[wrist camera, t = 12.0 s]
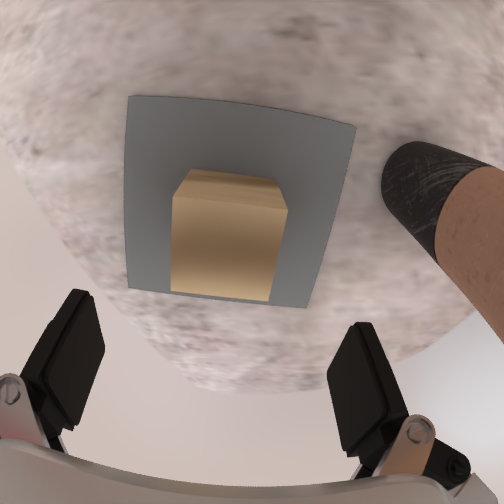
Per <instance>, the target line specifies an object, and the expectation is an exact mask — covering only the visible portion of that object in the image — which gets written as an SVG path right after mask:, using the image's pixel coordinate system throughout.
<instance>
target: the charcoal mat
mask: <svg viewBox="0 0 504 504" xmlns="http://www.w3.org/2000/svg"><path fill="white" fill-rule="evenodd" d="M356 128H357V127H355V126H352V125H348V124H345V123H341V122H337V121H333V120H328V119H324V118H320V117H315V116H311V115H306V114H301V113H296V112H291V111H286V110H280V109H275V108H269V107H262V106H256V105H249V104H242V103H234V102H226V101H216V100H206V99H194V98H180V97H159V96H129V97H128V108H127V120H126V134H125V155H124V229H125V250H126V265H127V277H128V288H132V289H139V290H146V291H153V292H160V293H167V294H174V295H182V296H190V297H198V298H206V299H215V300H223V301H233V302H242V303H252V304H262V305H273V306H284V307H296V308H307V306H308V303H309V300H310V297H311V294H312V290H313V287H314V284H315V281H316V278H317V275H318V272H319V268H320V265H321V262H322V259H323V255H324V252H325V249H326V245H327V242H328V238H329V235H330V231H331V228H332V224H333V221H334V217H335V213H336V210H337V206H338V202H339V199H340V195H341V191H342V187H343V183H344V179H345V175H346V171H347V167H348V163H349V159H350V155H351V150H352V146H353V142H354V137H355V133H356ZM191 169H196V170H206V171H215V172H224V173H233V174H241V175H248V176H256V177H263V178H270V179H276V181H277V183H278V186H279V188H280V191H281V193H282V196H283V198H284V201H285V203H286V206H287V209H288V213H287V218H286V223H285V227H284V232H283V237H282V241H281V246H280V251H279V255H278V260H277V264H276V269H275V273H274V278H273V282H272V287H271V291H270V295H269V300H268V301H259V300H249V299H239V298H229V297H220V296H211V295H202V294H194V293H185V292H177V291H171V226H172V202H173V195H174V194H175V192H176V191H177V189H178V188H179V186H180V185H181V183H182V182H183V180H184V179H185V177H186V176H187V174H188V173H189V171H190V170H191Z"/></svg>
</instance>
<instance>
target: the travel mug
mask: <svg viewBox="0 0 504 504" xmlns="http://www.w3.org/2000/svg"><path fill="white" fill-rule="evenodd" d="M381 187H382V195H383V198H384V201H385V204H386V206H387V207H388V209H389V210H390V212H391V213H392V214H393V215H394V216H395V217H396V218H397V219H398V220H399V222H400V223H401V224H402V225H403V226H404V227H405V228H406V229H407V230H408V231H409V232H410V233H411V234H412V235H413V237H414V238H415V239H416V240H417V241H418V242H419V243H420V244H421V245H422V247H423V248H424V249H425V250H426V251H427V252H428V253H429V255H430V256H431V257H432V258H433V259H434V260H435V262H436V263H437V264H438V265H439V266H440V267H441V268H442V270H443V271H444V272H445V273H446V274H447V275H448V276H449V278H450V279H451V280H452V281H453V282H454V283H455V284H456V285H457V287H458V288H459V289H460V290H461V291H462V292H463V293H464V295H465V296H466V297H467V298H468V299H469V300H470V302H471V303H472V304H473V305H474V306H475V308H476V309H477V310H478V311H479V313H480V314H481V315H482V316H483V318H484V319H485V320H486V321H487V322H488V324H489V325H490V326H491V328H492V329H493V330H494V332H495V333H496V334H497V336H498V337H499V338H500V339H501V341H502V342H503V344H504V171H502V170H500V169H498V168H496V167H494V166H491V165H489V164H486V163H484V162H481V161H479V160H476V159H474V158H471V157H468V156H466V155H463V154H460V153H457V152H454V151H452V150H449V149H446V148H443V147H440V146H436V145H433V144H430V143H425V142H412V143H408V144H406V145H404V146H402V147H400V148H399V149H398V150H397V151H395V152H394V154H393V155H392V156H391V157H390V159H389V160H388V162H387V164H386V166H385V168H384V172H383V175H382V184H381Z"/></svg>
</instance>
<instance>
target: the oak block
mask: <svg viewBox="0 0 504 504" xmlns="http://www.w3.org/2000/svg"><path fill="white" fill-rule="evenodd" d="M287 213H288V209H287V206H286V203H285V201H284V198H283V196H282V193H281V191H280V188H279V186H278V183H277V181H276V179H270V178H263V177H256V176H248V175H241V174H233V173H224V172H215V171H206V170H196V169H191V170H190V171H189V173H188V174H187V176H186V177H185V179H184V180H183V182H182V183H181V185H180V186H179V188H178V189H177V191H176V192H175V194H174V195H173V202H172V226H171V291H177V292H185V293H194V294H202V295H211V296H220V297H229V298H239V299H249V300H259V301H268V300H269V295H270V291H271V287H272V282H273V278H274V273H275V269H276V264H277V260H278V255H279V251H280V246H281V241H282V237H283V232H284V227H285V223H286V218H287Z"/></svg>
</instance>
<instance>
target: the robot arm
mask: <svg viewBox="0 0 504 504" xmlns="http://www.w3.org/2000/svg"><path fill="white" fill-rule="evenodd" d="M104 353H105V344H104V340H103V336H102V333H101V328H100V324H99V320H98V316H97V312H96V308H95V303H94V298H93V296H90V294H89V292H88V291H84V290H80V289H73V290H72V291H71V292H70V294H69V295H68V297H67V298H66V300H65V301H64V303H63V305H62V306H61V308H60V309H59V311H58V312H57V314H56V316H55V317H54V319H53V320H52V321H51V322H50V323H49V324H48V325H47V327H46V329H45V330H44V332H43V334H42V336H41V338H40V339H39V341H38V343H37V344H36V346H35V348H34V350H33V351H32V353H31V355H30V357H29V359H28V361H27V362H26V365H25V366H24V368H23V370H22V372H21V374H20V376H18V375H16V374H12V373H9V374H4V375H2V376H0V504H498V500H497V498H496V496H495V495H494V493H493V492H492V491H491V490H490V489H489V488H488V487H487V486H486V485H485V484H484V483H483V482H482V481H481V479H480V478H479V477H478V476H477V475H476V474H475V473H472V474H471V473H470V471H471V467H470V463H469V460H468V459H467V457H466V456H465V455H463V454H461V453H460V452H458V451H457V450H455V449H453V448H452V447H450V446H448V445H446V444H445V443H443V442H441V441H440V440H438V439H436V438H435V435H436V434H435V428H434V426H433V424H432V422H431V421H430V420H429V419H428V418H426V417H424V416H422V415H411V416H409V413H408V411H407V408H406V405H405V402H404V400H403V397H402V394H401V392H400V389H399V387H398V384H397V381H396V379H395V376H394V374H393V371H392V369H391V366H390V364H389V361H388V359H387V358H386V355H385V353H384V350H383V348H382V346H381V343H380V341H379V339H378V336H377V334H376V332H375V329H374V327H373V325H372V323H370V322H356V323H355V324H354V325H353V326H350V327H349V329H348V331H347V333H346V335H345V337H344V339H343V341H342V343H341V345H340V347H339V349H338V351H337V353H336V355H335V357H334V359H333V361H332V362H331V364H330V366H329V368H328V370H327V381H328V385H329V389H330V394H331V398H332V403H333V408H334V412H335V417H336V422H337V426H338V431H339V436H340V441H341V446H342V449H343V451H346V453H347V457H355V456H359V460H360V464H359V466H358V467H357V469H356V471H355V472H354V474H353V475H352V477H351V479H350V480H349V481H340V482H332V483H323V484H313V485H300V486H277V487H244V486H223V485H208V484H198V483H190V482H182V481H175V480H168V479H162V478H156V477H151V476H146V475H141V474H136V473H132V472H127V471H123V470H119V469H115V468H111V467H108V466H104V465H100V464H97V463H93V462H90V461H87V460H83V459H80V458H77V457H74V456H71V455H69V454H68V452H67V450H66V448H65V446H64V443H63V441H62V439H61V436H60V435H61V432H62V429H63V428H65V429H67V430H71V431H73V429H74V426H75V425H76V426H77V425H78V424H79V422H80V419H81V416H82V413H83V410H84V407H85V405H86V402H87V399H88V396H89V393H90V390H91V387H92V385H93V382H94V379H95V376H96V374H97V371H98V368H99V366H100V363H101V360H102V358H103V356H104Z"/></svg>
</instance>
